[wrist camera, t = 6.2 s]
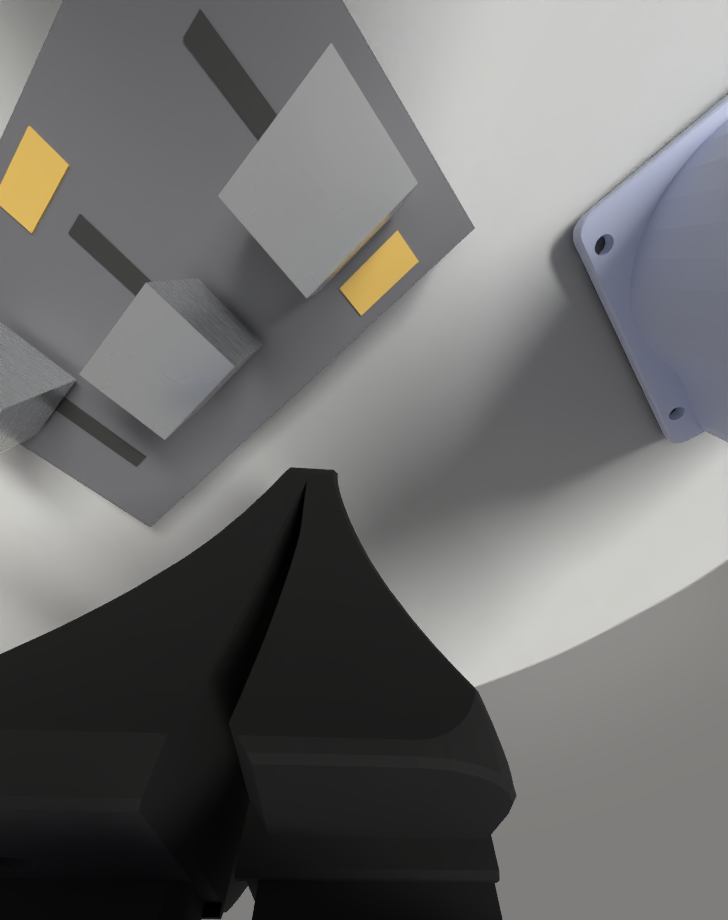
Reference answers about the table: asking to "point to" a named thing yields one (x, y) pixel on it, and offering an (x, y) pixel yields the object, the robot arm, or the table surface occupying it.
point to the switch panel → (184, 218)
